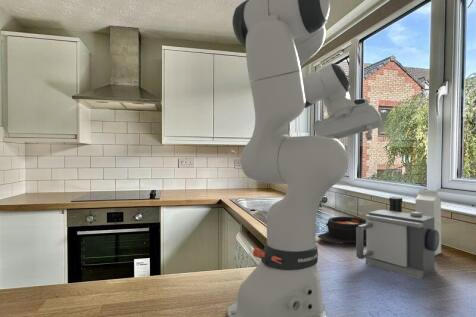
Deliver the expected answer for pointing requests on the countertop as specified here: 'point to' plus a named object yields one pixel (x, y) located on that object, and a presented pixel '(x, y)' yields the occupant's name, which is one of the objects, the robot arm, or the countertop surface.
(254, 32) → the robot arm
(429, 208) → the milk
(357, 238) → the side door
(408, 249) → the camera case
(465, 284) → the countertop surface
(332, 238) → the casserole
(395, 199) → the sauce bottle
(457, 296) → the countertop surface
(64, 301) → the countertop surface
